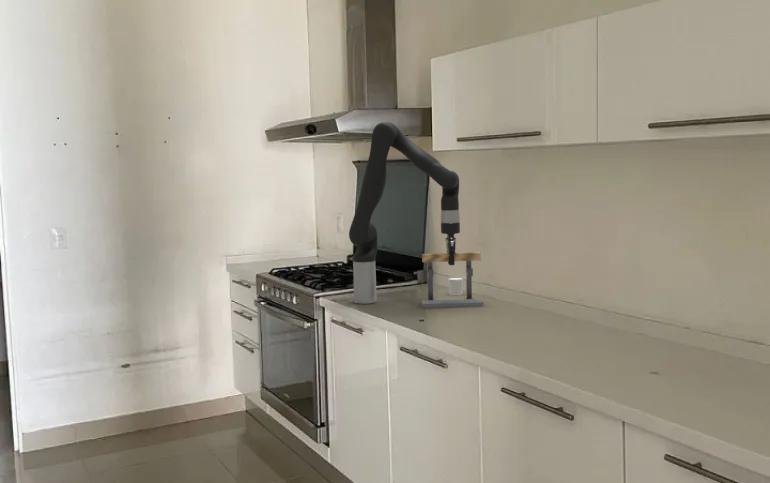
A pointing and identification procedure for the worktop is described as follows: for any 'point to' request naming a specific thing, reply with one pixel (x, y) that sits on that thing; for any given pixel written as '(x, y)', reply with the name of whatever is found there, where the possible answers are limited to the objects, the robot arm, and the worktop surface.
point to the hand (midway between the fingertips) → (451, 264)
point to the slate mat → (451, 303)
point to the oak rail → (445, 258)
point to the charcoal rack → (468, 280)
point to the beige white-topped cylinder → (455, 286)
